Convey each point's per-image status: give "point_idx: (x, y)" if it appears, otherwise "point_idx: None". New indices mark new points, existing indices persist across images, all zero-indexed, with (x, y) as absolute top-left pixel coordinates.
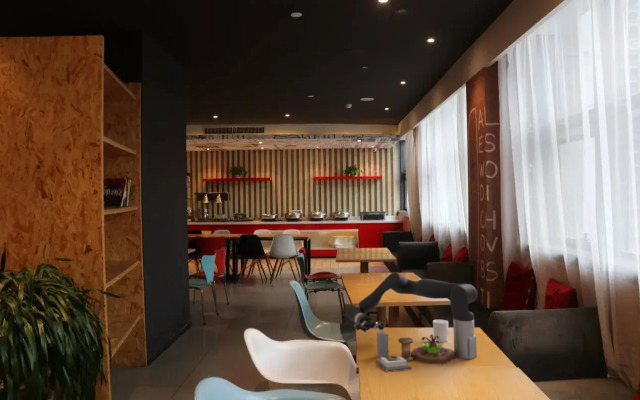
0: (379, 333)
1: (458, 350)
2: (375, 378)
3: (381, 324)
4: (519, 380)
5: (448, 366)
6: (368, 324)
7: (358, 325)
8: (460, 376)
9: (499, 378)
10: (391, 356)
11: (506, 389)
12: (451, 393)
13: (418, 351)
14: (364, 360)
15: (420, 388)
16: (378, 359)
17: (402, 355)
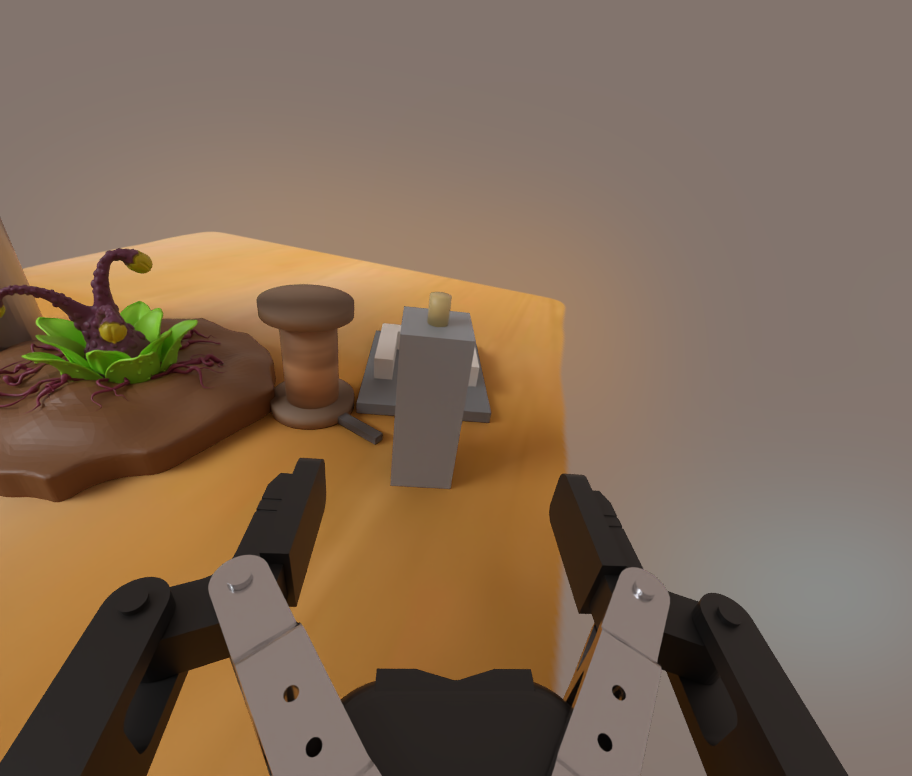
0: (463, 325)
1: (35, 308)
2: (526, 333)
3: (170, 621)
4: (152, 247)
5: (215, 320)
6: (486, 673)
7: (710, 595)
8: (267, 284)
9: (182, 260)
10: (379, 432)
11: (243, 245)
12: (374, 264)
13: (219, 373)
14: (547, 451)
15: (426, 285)
16: (476, 409)
17: (338, 383)
